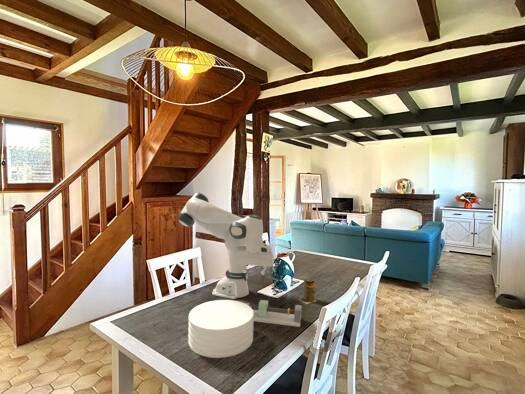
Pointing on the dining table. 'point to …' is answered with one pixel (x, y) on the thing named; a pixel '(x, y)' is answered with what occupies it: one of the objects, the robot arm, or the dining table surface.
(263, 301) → the pale green block
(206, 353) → the plate stack
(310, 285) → the condiment
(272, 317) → the white slider rail
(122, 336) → the dining table surface
